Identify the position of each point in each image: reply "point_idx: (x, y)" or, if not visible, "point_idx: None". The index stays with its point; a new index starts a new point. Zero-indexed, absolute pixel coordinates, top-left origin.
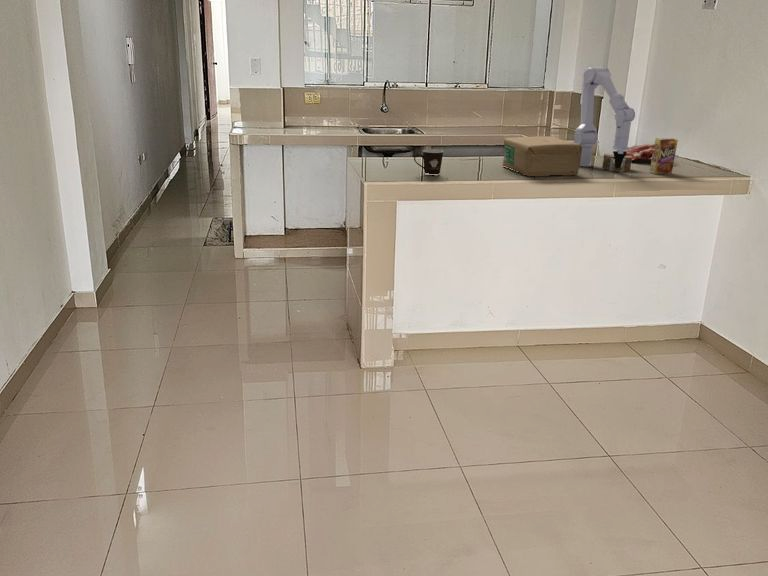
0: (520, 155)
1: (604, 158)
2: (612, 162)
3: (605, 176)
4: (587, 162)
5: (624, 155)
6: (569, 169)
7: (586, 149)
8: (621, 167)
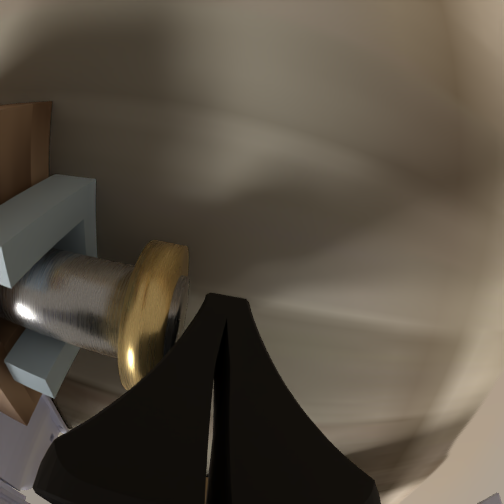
0: None
1: (33, 407)
2: (63, 353)
3: (383, 375)
4: None
5: (351, 477)
6: None
7: (11, 472)
8: (180, 267)
